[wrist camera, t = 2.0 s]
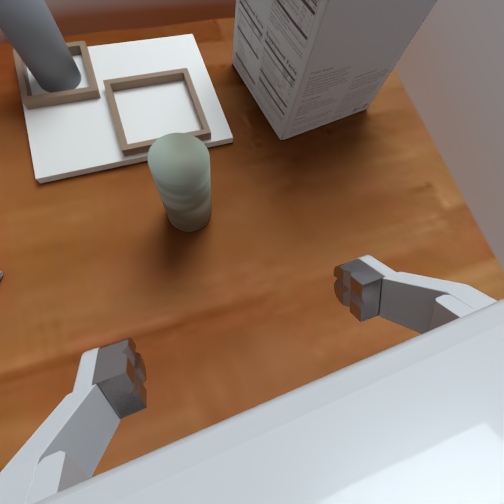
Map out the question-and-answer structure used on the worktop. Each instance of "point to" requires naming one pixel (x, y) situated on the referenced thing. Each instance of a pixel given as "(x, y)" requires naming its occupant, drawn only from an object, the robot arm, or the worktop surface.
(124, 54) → the board
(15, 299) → the worktop surface
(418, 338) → the robot arm
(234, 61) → the supplement box
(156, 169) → the sage pin
